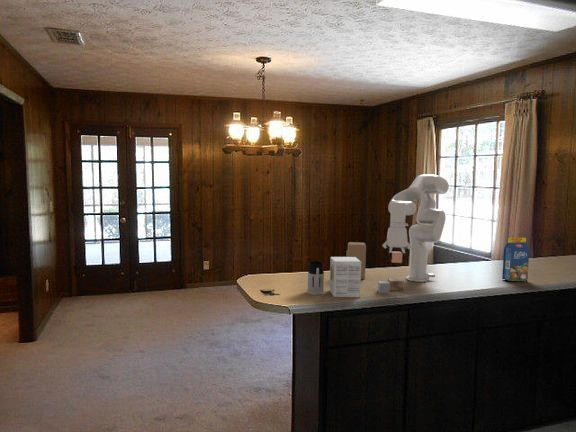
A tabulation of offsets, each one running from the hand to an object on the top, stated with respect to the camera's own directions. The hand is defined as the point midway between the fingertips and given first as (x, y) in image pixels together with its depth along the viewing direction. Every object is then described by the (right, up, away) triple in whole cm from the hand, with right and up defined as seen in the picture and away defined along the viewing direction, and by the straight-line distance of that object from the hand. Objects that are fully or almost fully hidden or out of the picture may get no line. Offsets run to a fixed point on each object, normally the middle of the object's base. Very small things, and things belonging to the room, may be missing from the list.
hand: (396, 259), depth 233 cm
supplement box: (-28, -16, -11) cm, 34 cm away
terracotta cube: (0, -1, 0) cm, 1 cm away
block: (-17, -13, +27) cm, 34 cm away
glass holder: (-43, -16, -12) cm, 47 cm away
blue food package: (+74, -15, +25) cm, 80 cm away
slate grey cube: (-8, -16, -6) cm, 19 cm away
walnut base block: (0, -15, +1) cm, 15 cm away
